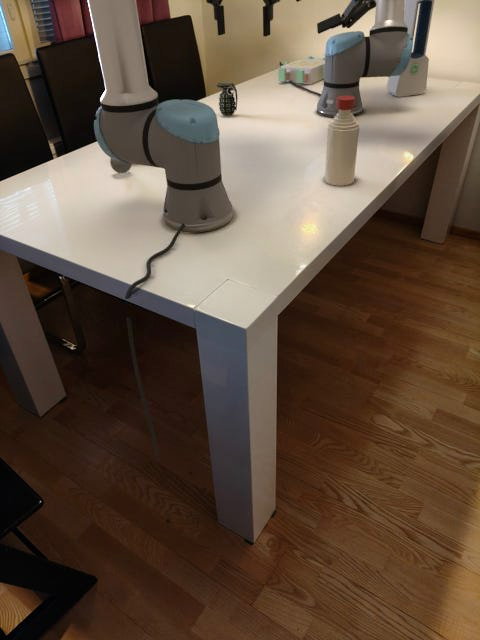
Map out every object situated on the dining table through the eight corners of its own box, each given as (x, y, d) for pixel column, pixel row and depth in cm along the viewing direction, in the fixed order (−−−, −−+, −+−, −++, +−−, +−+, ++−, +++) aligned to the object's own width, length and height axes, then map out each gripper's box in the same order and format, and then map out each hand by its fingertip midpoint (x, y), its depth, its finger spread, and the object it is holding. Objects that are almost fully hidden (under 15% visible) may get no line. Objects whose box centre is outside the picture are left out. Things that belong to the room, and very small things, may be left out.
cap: (356, 106, 110) (357, 96, 109) (350, 110, 108) (351, 100, 106) (339, 104, 112) (340, 94, 111) (333, 109, 109) (334, 99, 108)
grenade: (217, 117, 168) (214, 86, 162) (221, 112, 172) (219, 82, 166) (235, 117, 166) (233, 86, 160) (239, 113, 171) (238, 82, 165)
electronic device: (395, 97, 177) (408, -1, 159) (385, 92, 183) (397, -3, 164) (425, 93, 179) (442, -4, 161) (414, 89, 185) (429, -6, 167)
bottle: (357, 177, 121) (366, 96, 110) (348, 187, 116) (355, 105, 105) (330, 172, 124) (336, 94, 113) (320, 183, 119) (324, 102, 108)
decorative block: (301, 54, 217) (341, 57, 207) (300, 70, 221) (340, 74, 211) (269, 65, 201) (312, 69, 191) (269, 82, 205) (311, 87, 195)
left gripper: (294, -71, 114) (292, 33, 127) (203, -65, 124) (210, 31, 137) (281, -70, 109) (280, 38, 122) (187, -64, 119) (196, 36, 132)
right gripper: (373, -49, 107) (286, -6, 118) (402, 20, 128) (326, 52, 139) (370, -79, 108) (285, -33, 119) (400, -5, 129) (325, 28, 140)
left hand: (243, 35), depth 129 cm, fingers open, 13 cm apart
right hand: (307, 13), depth 129 cm, fingers open, 13 cm apart
